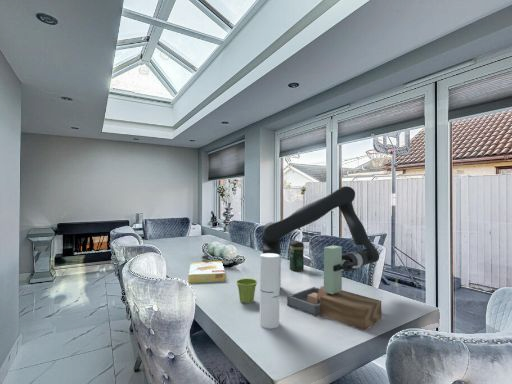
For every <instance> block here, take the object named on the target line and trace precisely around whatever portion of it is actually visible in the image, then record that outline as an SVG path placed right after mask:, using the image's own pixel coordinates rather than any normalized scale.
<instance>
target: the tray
mask: <svg viewBox="0 0 512 384" xmlns="http://www.w3.org/2000/svg"><path fill="white" fill-rule="evenodd" d="M319 289H320V287H319V288H318V287H315V286H312V287H310V288H309V287H308V288H306V289H304V290H301V291H298V292H295V293H293V294H290V295H287V297H286V299H287V300H286V301H287V303H286V306H288V307H290V308H292V309H295V310H297V311H300V312H303V313H306V314H309V315H311V316H314V317H319V316H321V315H320V303H319V304H317V305H315V304H312V303H309V302H307V297H308V295H309V294H312V293H318V292H319Z"/></svg>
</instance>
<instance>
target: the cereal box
mask: <svg viewBox="0 0 512 384" xmlns="http://www.w3.org/2000/svg"><path fill="white" fill-rule="evenodd" d="M187 278H188V283H189V284H194V283H195V284H196V283H216V282H226V271H225V266H223V263H222V261H213V262H203V261H195V262H190V265H189V272H188V277H187Z"/></svg>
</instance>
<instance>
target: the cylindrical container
mask: <svg viewBox="0 0 512 384" xmlns="http://www.w3.org/2000/svg"><path fill="white" fill-rule="evenodd" d="M259 256H260V257H259V258H260V259H259V263H260V264H259V267H260V268H259V269H260V270H259V326H260V327H261V328H263V329H276V328H278V327H279V326H280V289H281V287H280V255H279V254H274V253H265V254H263V253H261V254H260V255H259Z"/></svg>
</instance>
